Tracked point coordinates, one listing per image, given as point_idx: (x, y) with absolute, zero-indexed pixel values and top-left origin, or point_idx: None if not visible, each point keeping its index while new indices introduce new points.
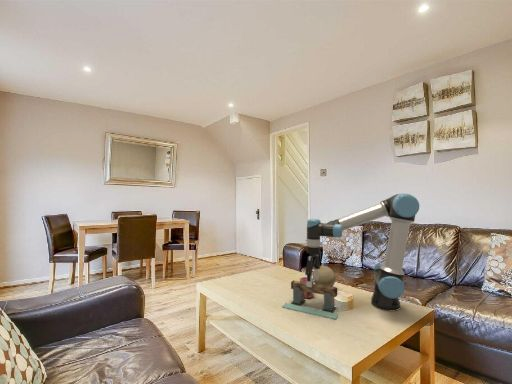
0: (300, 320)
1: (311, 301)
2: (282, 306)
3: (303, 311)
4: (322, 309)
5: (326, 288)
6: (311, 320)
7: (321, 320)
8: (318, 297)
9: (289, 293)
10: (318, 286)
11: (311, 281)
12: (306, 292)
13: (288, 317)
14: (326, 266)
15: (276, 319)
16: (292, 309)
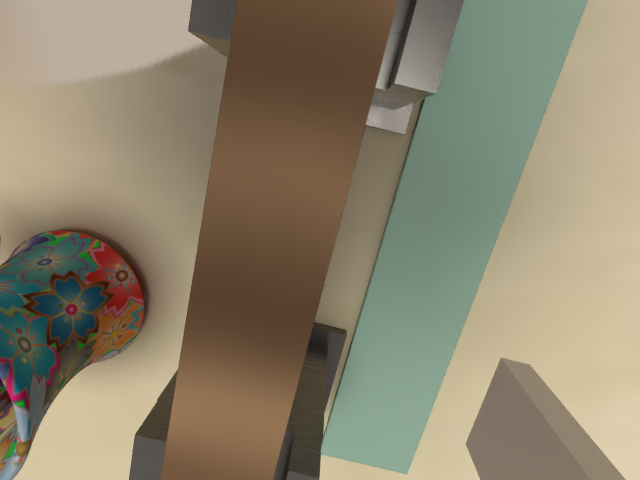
0: (634, 313)
1: (194, 244)
2: (403, 469)
3: (470, 304)
4: (392, 127)
5: (389, 28)
6: (627, 223)
7: (619, 131)
8: (60, 179)
9: (82, 441)
10: (328, 215)
11: (613, 467)
12: (103, 322)
13: (586, 404)
14: None
15: (631, 477)
16: (437, 391)
